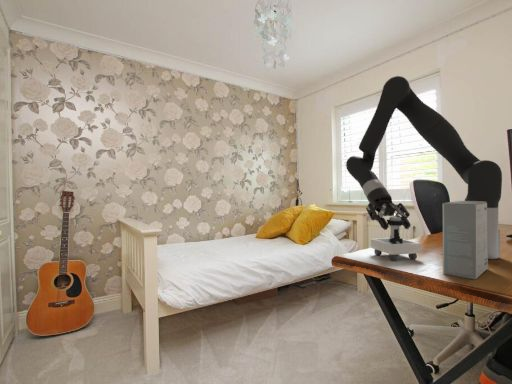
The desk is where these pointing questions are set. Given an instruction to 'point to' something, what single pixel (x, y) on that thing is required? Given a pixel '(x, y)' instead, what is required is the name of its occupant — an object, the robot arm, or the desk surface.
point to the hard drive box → (465, 238)
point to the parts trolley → (396, 248)
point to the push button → (395, 230)
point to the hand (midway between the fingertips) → (397, 228)
